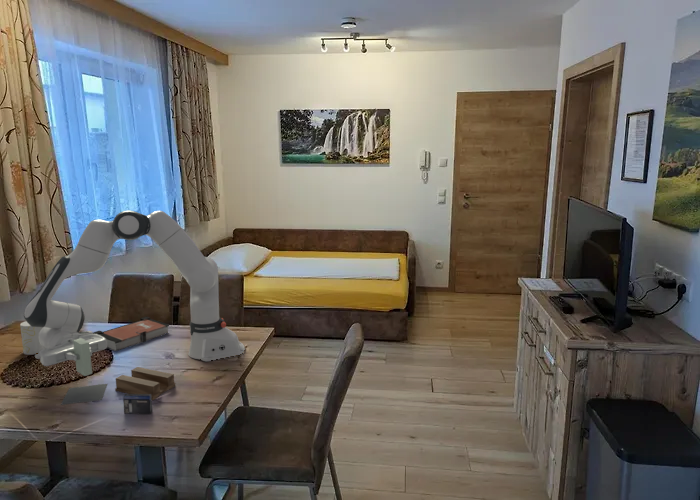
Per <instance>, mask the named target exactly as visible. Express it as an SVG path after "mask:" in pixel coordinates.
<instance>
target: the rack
mask: <svg viewBox="0 0 700 500" xmlns="http://www.w3.org/2000/svg"><path fill="white" fill-rule="evenodd" d="M130 371H131V376H130V375H125V374H122V375H120V376H117V377H115V388H114V390H115V392H119V393H122V394H123V393H124V394H151V396H152V401H154V400H156V399H157V398H159V397H160V396H161V395H162V394H164V393H166V392H167V391H168V390H172V389H174V388H175V387H176V382H175V374H174V373H169V372H164V371H160V370H154V369H149V368H145V367H142V366H141V367H140V366H136V367H135V368H133V369H131V370H130Z"/></svg>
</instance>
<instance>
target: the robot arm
mask: <svg viewBox="0 0 700 500" xmlns="http://www.w3.org/2000/svg"><path fill="white" fill-rule="evenodd" d="M143 236H147V237H149V238H150V239H152V240H153V242H155V244H156V245H157V246H158V247H159V249H161V251H163V252H164V254H165V255H166V256H167V257H168V258H169V259H170V260H171V261H172V263H173V264H174V265H175V268H176V269H177V270H178V272H179V273H180V275H182V277H183V278H184V279H185V281H186V282H187V284H188V285H189V287H190V294H189V295H190V296H189V297H190V298H189V305H190V307H189V308H190V309H189V310H190V320H189V333H190V344H189V350H188V356H189V357H190V358H192V359H195V360H200V359H201V360H200V361H203V362H211V360H213V361H217V360H216V359H218V360H221V359H220V358H224V359H226V358H225V357H229V358H231V357H230V356H234V357H236V356H235V355H240V354H242V353H243V352H244V350H245V351H246V349H245V345H244V344H243V342H241V341H239V337H238V335H237V333H236V332H235V331H233V330H231V329H229V328H228V327H227V322H225V319H224V318H223V317H220V306H219V305H220V303H219V301H220V300H219V299H220V296H219V267H218V264H217V262H216V261H215V260H214V259H212V258H211V257H208V256H204V254H203V253H202V251H201V250H200V249H199V247H198V246H197V244H196V242H195V241H194V240H193V239H192V238H191V237H190V235H189V234H188V233H187V232H186V231H185V230H184V229H183V228H182V227H181V226H180V224H179V223H178V222H177V221H176V220H175V219H173V218H172V217H171V216H170V215H169V214H167V212H165V211H163V210H156V211H152V212H151V213H150V214H148V215H147V214H146V215H145V214H143V213H140V212H137V211H135V210H130V209H129V210H123V211H121V212H118V213H117V214H116V215H115V217H114V218H113V220H111V221H110V220H109V221H108V220H104V219H93V220H91V221H90V222H89V223H88V224H87V226H86V227H85V228H84V230H83V232H82V234H81V236H80V238H79V240H78V242H77V244H76V246H75V248H74V250H73V251H71V252H70V253H69V254H68V255H66V256H64V255H63V256H62V257H60V259H59V260H58V261H57V262H56V263H55V265H54V266H53V268H52V269H51V270H50V272H49V273H48V275H47V277H46V278H45V280H44V281H43V283H42V285H41V286H40V287H39V289H38V290H37V292H36V294H35V295H34V296H33V298H31V300H30V301H29V302H28V304H27V305H26V307H25V309H24V312H23V318H24V320H25V321H27V323H28V324H29V325H30V326H32V327H44V328H42V329H41V331H40V332H39V336H38V338H39V342H40V344H41V345H42V346H43V347H44V348H45V349H43V350H41V351H40V352H39V353H38V354H34V357H35V359H37V360H39V361H40V363H41V364H42V366H44V367H49V366H53V365H57V364H59V363H63V362H67V361H75V362H76V361H77V360H80V358H79V357H80V355H79V354H75V352H74V343H73V340H76V339H79V338H82V339H84V340H86V341H87V342H89V346H90V356H91V357H93V353H96V352H100V351H104V350H105V349H106V350H107V349H108V348H107V340H106V338H104V337H103V336H100V335H98V334H93V332H94V331H92V330H86V331H85V330H84V331H81V330H82V328H83V326H84V323H85V321H86V320H85V319H86V318H85V316H86V315H85V313H84V309H83V308H82V306H80V305H79V304H76V303H71V302H70V303H69V302H63V301H58V300H53V297H54V296H55V294H56V293H57V291H58V290H59V289H60V286H61V285H62V283H63V282H64V280H66V279H67V278H69V277H71V276H75V275H82V274H89V273H90V274H91V273H93V272H94V273H95V272H97V271H98V270H101V269H102V268H103V267H104V266H105V264H106V262H107V261H108V259H109V256H110V254H111V251H112V248H113V247H114V245H115V243H116V242H117V241H118V240H125V241H134V240H138V239H139V238H140V237H143ZM244 353H245V352H244ZM244 353H243V354H244ZM243 354H242V355H243ZM240 356H241V355H240Z"/></svg>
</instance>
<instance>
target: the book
mask: <svg viewBox="0 0 700 500" xmlns="http://www.w3.org/2000/svg"><path fill="white" fill-rule="evenodd" d="M169 327H170V324H169V323H165V322H162V321H158V320H155V319H152V318H151V317H149V316H143V317H141V318H140V319H139V320H138V321H134V322H130V323H127V324H124V325H120V326H117V327H115V328H110V329H108V330H107V329H106V330H103V331H102V330H96V331H92V332H93V334H98V335H100V336H103V337H104V338H106V340H107V348H106V349H109V350H111V351H114V352H118V351H122V350H124V349H127V348H130V347H133V346H137V345H140V344H142V343H146V342H147V341H148V342H149V341H150V340H153V338H154V339H157V338H159V337H162V336H165V335H166V334H165V333H168V332H169ZM164 334H165V335H164ZM168 334H169V333H168ZM161 335H162V336H161ZM156 337H157V338H156Z"/></svg>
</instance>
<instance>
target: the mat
mask: <svg viewBox="0 0 700 500" xmlns="http://www.w3.org/2000/svg"><path fill="white" fill-rule="evenodd" d="M107 387H108V383H103V384H91V385H83V386H77V387H75V386H74V387H69V388H68V390H67V392H66V394H65V395H64V397H63V399H62V402H61V404H60V405H62V406H65V405H71V404H80V403H87V402H96V401H97V402H98V401H103V397H104V396H105V393H106V390H107Z"/></svg>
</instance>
